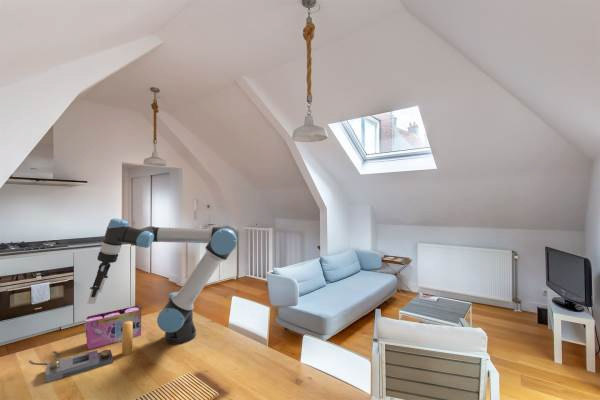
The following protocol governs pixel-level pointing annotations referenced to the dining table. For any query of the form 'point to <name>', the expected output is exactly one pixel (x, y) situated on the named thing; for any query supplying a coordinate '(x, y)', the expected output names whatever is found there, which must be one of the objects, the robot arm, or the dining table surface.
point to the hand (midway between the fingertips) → (94, 297)
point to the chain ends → (77, 364)
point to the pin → (127, 338)
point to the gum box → (111, 326)
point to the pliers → (46, 363)
